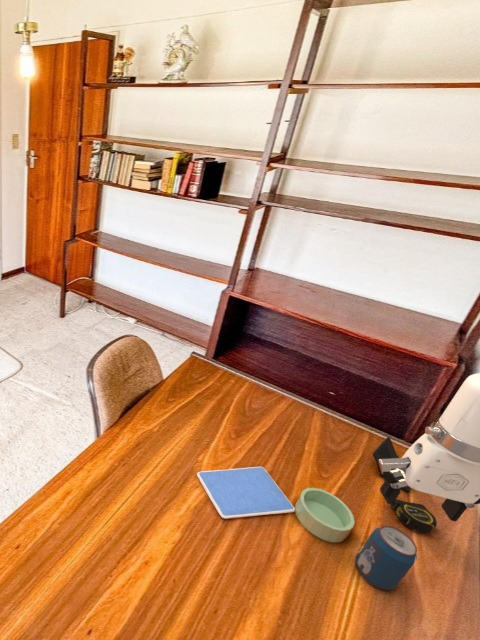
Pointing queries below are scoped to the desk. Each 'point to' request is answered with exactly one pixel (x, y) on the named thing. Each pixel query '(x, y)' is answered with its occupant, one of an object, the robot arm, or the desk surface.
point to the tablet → (244, 492)
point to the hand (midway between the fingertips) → (416, 505)
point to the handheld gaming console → (387, 457)
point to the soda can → (386, 557)
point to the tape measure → (414, 516)
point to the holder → (324, 515)
